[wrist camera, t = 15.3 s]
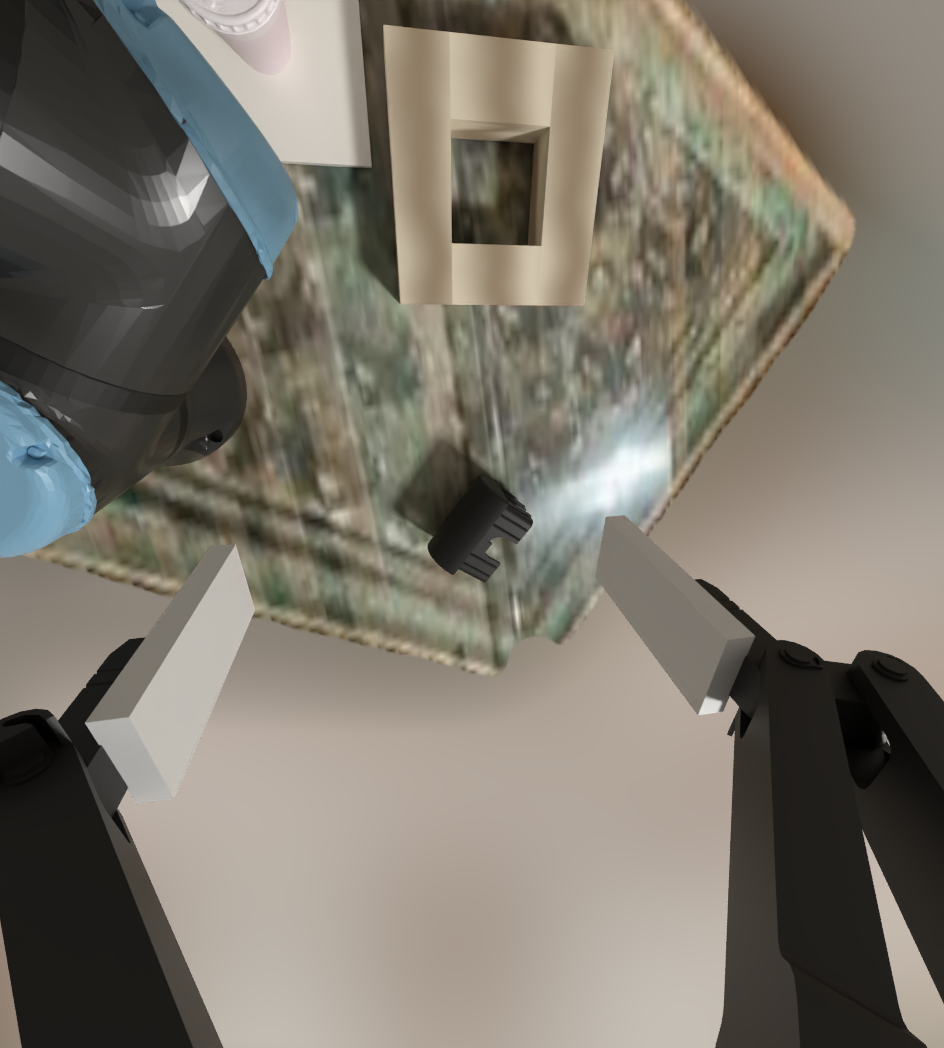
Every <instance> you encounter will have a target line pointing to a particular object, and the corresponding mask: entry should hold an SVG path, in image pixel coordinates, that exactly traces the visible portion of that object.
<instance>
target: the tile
mask: <svg viewBox="0 0 944 1048" xmlns="http://www.w3.org/2000/svg"><path fill="white" fill-rule="evenodd" d="M155 1H156V4H157V6H158V7H159V8H160V9H161V10H163V11H164V12H165V13H166V14H167V15H169V16H170V17H171V18H172V19H173V20H174V21H175V22H176V24H177V25H178V26H179V27H180V28H181V30H182V31H183V32H184V33H185V34H186V36H187V37H188V38H189V39H190V40H191V42H192V43H193V44H194V45H195V47H196V48H197V49H198V50H199V51H200V53H201V54H202V55H203V56H204V58H205V59H206V60H207V62H208V63H209V64H210V65H211V67H212V68H213V69H214V70H215V72H216V73H217V74H218V75H219V77H220V78H221V79H222V81H223V82H224V83H225V85H226V86H227V87H228V88H229V90H230V91H231V92H232V94H233V95H234V96H235V98H236V99H237V100H238V101H239V103H240V104H241V105H242V107H243V108H244V109H245V111H246V112H247V114H248V115H249V116H250V118H251V119H252V120H253V122H254V123H255V124H256V126H257V127H258V129H259V130H260V131H261V133H262V134H263V136H264V137H265V138H266V140H267V141H268V143H269V144H270V146H271V147H272V149H273V150H274V152H275V153H276V155H277V156H278V158H279V159H280V161H281V162H282V163H286V164H303V165H321V166H338V167H355V168H372V163H371V151H370V138H369V125H368V113H367V100H366V88H365V75H364V63H363V50H362V38H361V25H360V12H359V0H284V1H285V8H286V14H287V21H288V27H289V33H290V40H291V54H290V58H289V61H288V64H287V65H286V67H285V68H284V69H283V70H282V71H281V72H279V73H277V74H274V75H266V74H262V73H260V72H258V71H256V70H254V69H253V68H252V67H251V66H250V65H249V64H248V63H247V62H246V61H245V60H244V59H243V58H242V57H241V56H240V55H239V54H238V53H237V52H236V51H235V50H234V49H233V48H232V47H231V46H230V45H229V44H228V43H227V42H226V41H225V40H224V39H223V38H222V37H221V36H220V35H219V34H218V33H217V32H216V31H215V30H214V29H212V28H210V27H207V26H205V25H204V24H203V23H202V22H200V21H199V20H198V19H196V18H195V17H194V16H193V15H191V14H190V13H189V12H188V11H187V10H186V9H185V8H184V7H183V5H182V4H181V3H180V2H179V1H178V0H155Z"/></svg>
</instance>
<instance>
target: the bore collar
mask: <svg viewBox="0 0 944 1048" xmlns="http://www.w3.org/2000/svg"><path fill="white" fill-rule="evenodd" d="M383 33H384V65H385V81H386V97H387V113H388V128H389V144H390V160H391V176H392V192H393V208H394V224H395V240H396V255H397V271H398V287H399V303H400V304H450V305H566V306H584V301H585V293H586V284H587V276H588V268H589V259H590V251H591V242H592V234H593V226H594V217H595V209H596V201H597V192H598V184H599V175H600V167H601V159H602V150H603V142H604V134H605V125H606V117H607V108H608V100H609V92H610V83H611V75H612V67H613V58H614V50H609V49H600V48H591V47H582V46H573V45H563V44H554V43H545V42H536V41H527V40H518V39H509V38H500V37H491V36H482V35H472V34H463V33H454V32H445V31H436V30H427V29H418V28H409V27H400V26H391V25H383ZM451 138H462V139H476V140H490V141H505V142H519V143H533V144H534V151H533V168H532V184H531V201H530V218H529V234H528V246H521V245H489V244H457V243H452V217H451Z"/></svg>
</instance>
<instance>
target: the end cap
mask: <svg viewBox="0 0 944 1048" xmlns="http://www.w3.org/2000/svg"><path fill="white" fill-rule="evenodd" d="M525 511H526V509H525V506H524V505H523V504H521V503H520V502H518V500H517V498H516V497H514V496H513V495H511V494H510V493H508V492H507V491H505V490H504V489H502V488H500V486H499V485H498V483H497V482H496V481H495V480H493V479H491V478H489V477H487V476H484V475H480V476H478V477H477V479H476V480H475V481H474V483H473V484H472V485H471V487H470V488H469V489H468V491H467V492H466V493H465V495H464V496H463V497H462V499H461V500H460V501H459V503H458V504H457V505H456V507H455V508H454V509H453V511H452V512H451V514H450V515H449V516H448V518H447V519H446V520H445V522H444V523H443V524H442V526H441V527H440V528H439V530H438V531H437V532H436V534H435V535H434V536H433V538H432V539H431V540H430V542H429V543H428V551H429V553H430V555H431V557H432V558H433V559H434V560H435V562H436V563H437V564H438V565H439V566H441V567H442V568H443V569H444V570H446V571H447V572H449V573H450V574H452V575H454V574H455V573H456V571H457V570H458V569H459V570H461V571H463V572H465V573H467V574H469V575H471V576H473V577H475V578H477V579H479V580H481V581H483V582H486V581H487V580H488V579H489V577H490V576H491V575H492V574H493V573H494V571H495V570H496V569H497V568H498V567H499V565H500V562H498V561H496V560H495V559H493V558H491V557H489V556H488V555H487V554H486V553H485V552H486V551H487V550H488V548H489V547H490V546H491V545H492V543H491V542H490V540H491V539H493V538H496V537H504V538H506V539H508V540H510V541H511V542H513V543H515V544H516V545H517V544H518V542H519V541H520V540H521V539H522V537H523V536H524V535H525V534H526V533H527V531H528V530H529V529H530V528H531V526H532V524H533V520H532V519H531V515H530V514H528V513H527V512H525Z"/></svg>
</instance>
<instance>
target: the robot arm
mask: <svg viewBox="0 0 944 1048" xmlns="http://www.w3.org/2000/svg"><path fill="white" fill-rule="evenodd" d="M297 217H298V206H297V196H296V193H295V190H294V187H293V183H292V181H291V179H290V177H289V175H288V173H287V171H286V169H285V168H284V166H283V164H282V162H281V161H280V159H279V158H278V156H277V155H276V153H275V152H274V150H273V149H272V147H271V146H270V144H269V143H268V141H267V140H266V138H265V137H264V136H263V134H262V133H261V131H260V130H259V129H258V127H257V126H256V124H255V123H254V122H253V120H252V119H251V118H250V116H249V115H248V114H247V112H246V111H245V109H244V108H243V107H242V105H241V104H240V103H239V101H238V100H237V99H236V98H235V96H234V95H233V94H232V92H231V91H230V90H229V88H228V87H227V86H226V85H225V83H224V82H223V81H222V79H221V78H220V77H219V75H218V74H217V73H216V72H215V70H214V69H213V68H212V67H211V65H210V64H209V63H208V62H207V60H206V59H205V58H204V56H203V55H202V54H201V53H200V51H199V50H198V49H197V48H196V47H195V45H194V44H193V43H192V42H191V40H190V39H189V38H188V37H187V36H186V34H185V33H184V32H183V31H182V30H181V28H180V27H179V26H178V25H177V24H176V22H175V21H174V20H173V19H172V18H171V17H170V16H169V15H167V14H166V13H165V12H164V11H163V10H161V9H160V8H159V7H158V6H157V4H156V1H155V0H0V557H6V558H7V557H14V556H19V555H23V554H27V553H30V552H33V551H36V550H38V549H40V548H43V547H45V546H47V545H49V544H50V543H52V542H54V541H55V540H57V539H58V538H60V537H62V536H63V535H67V534H69V533H71V532H76V531H78V530H80V529H81V527H82V526H84V525H86V524H87V523H88V522H89V521H90V520H91V518H92V517H93V515H94V514H95V513H97V512H98V511H99V510H101V509H102V508H103V507H105V506H106V505H107V504H109V503H110V502H111V501H113V500H114V499H116V498H117V497H118V496H120V495H121V494H122V493H124V492H125V491H126V490H128V489H129V488H130V487H132V486H133V485H134V484H136V483H137V482H138V481H140V480H141V479H142V478H144V477H145V476H146V475H148V474H149V473H150V472H152V471H153V470H154V469H156V468H157V467H164V466H175V465H183V464H187V463H191V462H194V461H197V460H200V459H202V458H204V457H206V456H208V455H210V454H212V453H213V452H215V451H216V450H217V449H219V448H220V447H221V446H222V445H223V444H224V443H225V442H227V441H228V440H229V439H230V438H231V437H232V435H233V434H234V433H235V432H236V430H237V429H238V427H239V425H240V423H241V421H242V418H243V415H244V412H245V408H246V400H247V389H246V381H245V376H244V372H243V369H242V366H241V363H240V361H239V358H238V356H237V354H236V352H235V350H234V348H233V347H232V345H231V343H230V342H229V340H228V339H227V337H226V335H227V334H228V332H229V331H230V329H231V328H232V326H233V325H234V323H235V321H236V320H237V318H238V317H239V315H240V314H241V312H242V311H243V309H244V308H245V306H246V304H247V303H248V301H249V300H250V298H251V297H252V295H253V294H254V292H255V291H256V289H257V287H258V286H259V284H260V283H261V281H262V280H263V279H265V280H269V279H270V277H271V276H272V272H273V263H274V262H275V260H276V258H277V257H278V255H279V253H280V251H281V250H282V248H283V246H284V244H285V243H286V241H287V239H288V238H289V236H290V234H291V232H292V231H293V229H294V227H295V224H296V221H297ZM595 577H596V578H597V580H598V581H599V582H600V584H601V585H602V586H603V588H604V589H605V590H606V592H607V593H608V594H609V596H610V597H611V598H612V600H613V601H614V602H615V604H616V605H617V607H618V608H619V609H620V611H621V612H622V613H623V615H624V616H625V617H626V619H627V620H628V621H629V623H630V624H631V625H632V627H633V628H634V630H635V631H636V632H637V634H638V635H639V636H640V638H641V639H642V640H643V642H644V643H645V644H646V646H647V647H648V648H649V650H650V651H651V652H652V654H653V655H654V656H655V658H656V659H657V660H658V662H659V663H660V665H661V666H662V667H663V669H664V670H665V671H666V673H667V674H668V675H669V677H670V678H671V679H672V681H673V682H674V684H675V685H676V686H677V687H678V689H679V690H680V692H681V693H682V694H683V696H684V697H685V698H686V699H687V701H688V702H689V704H690V705H691V706H692V708H693V709H694V711H695V712H696V713H697V715H703V714H710V713H716V712H722V711H723V710H724V708H725V705H726V703H727V701H728V699H729V696H731V698H732V699H733V700H734V701H735V702H736V703H737V705H738V706H739V709H738V711H737V713H736V715H735V718H734V720H733V722H732V724H731V726H730V729H729V731H728V735H730V736H732V735H733V732H734V731H735V741H734V766H733V767H734V768H733V791H732V793H733V794H732V817H731V841H730V866H729V891H728V918H727V942H726V968H725V992H724V993H725V994H724V1010H723V1018H722V1024H721V1027H720V1031H719V1035H718V1039H717V1042H716V1047H715V1048H927V1046H926V1045H925V1044H924V1043H923V1042H922V1041H920V1040H919V1039H918V1038H917V1037H915V1035H913V1034H912V1033H911V1032H910V1031H909V1030H908V1029H907V1027H906V1025H905V1023H904V1022H903V1019H902V1016H901V1012H900V1009H899V1005H898V1000H897V995H896V990H895V985H894V981H893V976H892V971H891V966H890V962H889V957H888V952H887V947H886V942H885V938H884V933H883V928H882V923H881V919H880V913H879V909H878V904H877V899H876V894H875V890H874V885H873V880H872V875H871V871H870V866H869V861H868V856H867V852H866V846H865V842H864V837H863V832H864V834H865V836H866V838H867V840H868V842H869V845H870V847H871V849H872V851H873V853H874V855H875V857H876V860H877V862H878V864H879V866H880V868H881V870H882V872H883V875H884V877H885V879H886V881H887V883H888V885H889V887H890V889H891V892H892V894H893V896H894V898H895V900H896V902H897V904H898V907H899V909H900V911H901V913H902V915H903V917H904V920H905V922H906V924H907V926H908V928H909V930H910V932H911V935H912V937H913V939H914V941H915V943H916V945H917V947H918V949H919V952H920V954H921V956H922V958H923V960H924V962H925V964H926V967H927V969H928V971H929V973H930V975H931V977H932V979H933V981H934V984H935V986H936V988H937V990H938V992H939V994H940V996H941V999H942V1001H943V1003H944V701H943V700H942V699H941V698H940V696H939V695H938V694H937V693H936V692H935V690H934V689H933V688H932V687H931V685H930V684H929V683H928V682H927V680H926V679H925V678H924V677H923V676H922V675H921V674H920V673H919V672H918V671H917V670H916V669H915V668H914V667H912V666H910V665H909V664H907V663H906V662H904V661H903V660H901V659H899V658H897V657H894V656H892V655H889V654H885V653H882V652H878V651H870V650H864V651H861V652H859V653H858V654H857V656H856V657H855V659H854V661H853V662H852V664H845V663H838V662H830V661H824V660H823V659H822V658H821V657H820V656H819V655H818V654H816V653H815V652H813V651H812V650H810V649H808V648H807V647H805V646H802V645H800V644H797V643H795V642H790V641H785V640H776V639H775V638H774V637H772V636H771V635H770V634H769V633H768V632H767V631H766V630H765V629H763V628H762V627H761V626H760V625H759V624H758V623H756V621H754V620H753V619H752V618H751V617H750V616H749V615H748V614H746V613H745V612H744V611H743V610H740V609H739V606H737V605H736V604H735V603H734V602H733V601H730V600H729V598H728V597H727V596H726V595H725V594H724V593H723V592H722V591H720V590H719V589H718V588H717V587H715V586H713V585H711V584H709V583H708V582H706V581H704V580H702V579H696V580H694V579H693V578H692V577H691V576H690V575H689V574H688V573H686V572H685V571H684V570H683V569H682V568H681V567H680V566H678V564H677V563H676V562H674V561H673V560H672V559H671V558H670V557H669V556H668V555H667V554H666V553H665V552H664V551H663V550H661V549H660V548H659V547H658V546H657V545H656V544H655V543H654V542H653V541H652V540H651V539H650V538H649V537H647V536H646V535H645V534H644V533H643V532H642V531H641V530H640V529H639V528H638V527H637V526H636V525H634V524H633V523H632V522H631V521H630V520H629V519H628V518H627V517H626V516H611V517H606V520H605V525H604V531H603V536H602V542H601V548H600V553H599V559H598V564H597V570H596V576H595ZM254 611H255V609H254V605H253V602H252V598H251V595H250V592H249V588H248V585H247V581H246V578H245V575H244V571H243V568H242V564H241V561H240V558H239V554H238V551H237V548H236V545H223V546H211V547H210V548H209V549H208V551H207V552H206V554H205V555H204V556H203V558H202V559H201V561H200V562H199V563H198V565H197V566H196V568H195V569H194V570H193V572H192V573H191V575H190V576H189V577H188V579H187V580H186V582H185V583H184V584H183V586H182V587H181V589H180V590H179V592H178V593H177V594H176V596H175V597H174V599H173V600H172V601H171V603H170V604H169V606H168V607H167V608H166V610H165V611H164V613H163V614H162V615H161V617H160V618H159V620H158V621H157V622H156V624H155V625H154V627H153V628H152V629H151V631H150V632H149V634H148V635H147V637H145V638H136V639H129V640H128V641H127V642H125V643H124V644H123V645H121V646H120V647H119V648H118V649H116V650H115V651H114V652H112V653H111V654H110V655H109V656H108V657H107V659H106V660H105V661H104V663H103V664H102V665H101V666H100V668H99V669H98V670H97V674H94V675H93V677H92V678H91V679H90V680H89V682H88V683H87V684H86V688H84V689H82V691H81V692H80V693H79V694H78V696H77V697H76V698H75V700H74V701H73V702H72V703H71V705H70V706H69V707H68V709H67V710H66V711H65V712H64V714H63V715H62V716H61V718H60V719H59V720H58V721H57V719H56V718H55V716H54V715H53V714H52V713H51V712H49V711H48V710H43V709H32V710H27V711H22V712H18V713H16V714H13V715H11V716H8V717H5V718H3V719H1V720H0V921H1V927H2V933H3V939H4V945H5V951H6V956H7V963H8V969H9V974H10V980H11V986H12V992H13V998H14V1004H15V1010H16V1015H17V1021H18V1028H19V1034H20V1039H21V1045H22V1048H223V1046H222V1044H221V1041H220V1039H219V1037H218V1034H217V1032H216V1030H215V1028H214V1025H213V1023H212V1021H211V1018H210V1016H209V1014H208V1012H207V1009H206V1007H205V1005H204V1002H203V1000H202V998H201V995H200V993H199V991H198V988H197V986H196V984H195V982H194V979H193V977H192V975H191V972H190V970H189V968H188V966H187V963H186V961H185V959H184V956H183V954H182V952H181V950H180V947H179V945H178V943H177V940H176V938H175V936H174V933H173V931H172V929H171V926H170V924H169V922H168V920H167V917H166V915H165V913H164V910H163V908H162V906H161V904H160V901H159V899H158V897H157V894H156V892H155V890H154V887H153V885H152V883H151V881H150V878H149V876H148V874H147V871H146V869H145V867H144V865H143V862H142V860H141V858H140V855H139V853H138V851H137V848H136V846H135V844H134V842H133V839H132V837H131V835H130V832H129V830H128V828H127V826H126V823H125V821H124V819H123V816H122V815H121V813H120V812H119V810H118V809H117V808H118V806H119V804H120V802H121V800H122V798H123V796H124V794H125V792H126V791H127V790H128V791H129V793H130V794H131V796H132V798H133V799H134V801H135V802H136V804H142V803H149V802H155V801H162V800H168V799H174V798H175V796H176V793H177V791H178V789H179V787H180V784H181V782H182V780H183V777H184V775H185V773H186V770H187V768H188V766H189V763H190V761H191V758H192V756H193V754H194V751H195V749H196V747H197V744H198V742H199V740H200V737H201V735H202V733H203V730H204V728H205V726H206V723H207V721H208V719H209V716H210V714H211V712H212V709H213V707H214V705H215V702H216V700H217V698H218V695H219V693H220V691H221V688H222V686H223V684H224V681H225V679H226V676H227V674H228V672H229V669H230V667H231V665H232V663H233V660H234V658H235V655H236V653H237V651H238V648H239V646H240V644H241V641H242V639H243V637H244V634H245V632H246V630H247V627H248V625H249V623H250V620H251V618H252V616H253V613H254ZM887 740H889V743H890V746H889V744H888V743H887ZM862 830H863V832H862Z"/></svg>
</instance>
